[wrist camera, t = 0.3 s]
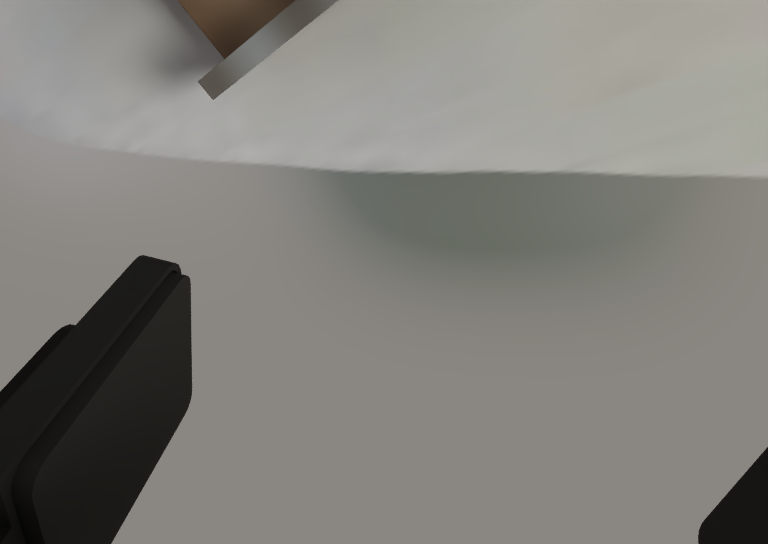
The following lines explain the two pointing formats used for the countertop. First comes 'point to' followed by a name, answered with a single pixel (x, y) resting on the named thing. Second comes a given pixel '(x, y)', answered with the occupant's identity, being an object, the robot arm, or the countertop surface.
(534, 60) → the countertop surface
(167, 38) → the countertop surface
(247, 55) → the shelf
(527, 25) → the countertop surface
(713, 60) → the countertop surface
